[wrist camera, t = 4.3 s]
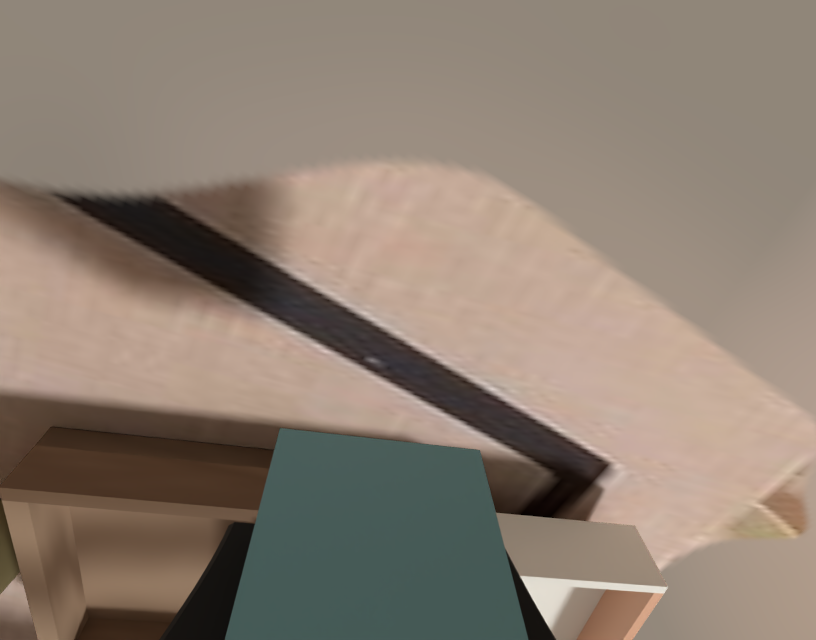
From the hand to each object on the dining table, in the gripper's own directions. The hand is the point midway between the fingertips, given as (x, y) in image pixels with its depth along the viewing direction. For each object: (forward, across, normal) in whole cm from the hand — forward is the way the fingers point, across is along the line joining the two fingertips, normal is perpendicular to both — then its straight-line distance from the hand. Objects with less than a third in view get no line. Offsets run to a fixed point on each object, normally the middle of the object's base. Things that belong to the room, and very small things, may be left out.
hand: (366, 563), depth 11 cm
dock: (+8, +3, +10) cm, 14 cm away
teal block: (+1, 0, 0) cm, 1 cm away
